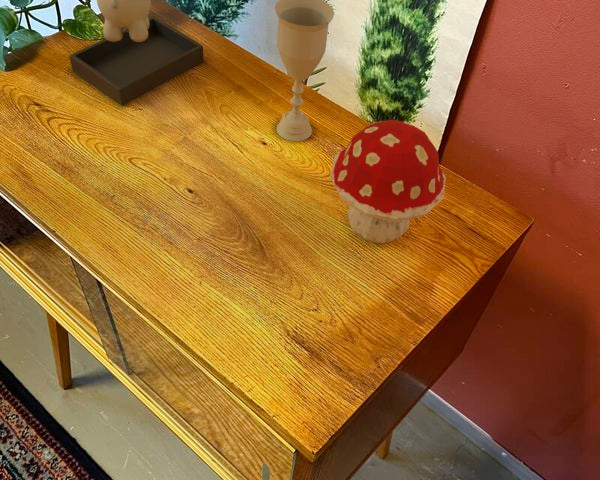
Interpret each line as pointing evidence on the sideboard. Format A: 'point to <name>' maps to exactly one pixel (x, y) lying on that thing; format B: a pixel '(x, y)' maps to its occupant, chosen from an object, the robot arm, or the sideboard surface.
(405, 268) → the sideboard surface
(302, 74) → the chalice
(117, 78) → the tray
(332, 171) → the decorative mushroom
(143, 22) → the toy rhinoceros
